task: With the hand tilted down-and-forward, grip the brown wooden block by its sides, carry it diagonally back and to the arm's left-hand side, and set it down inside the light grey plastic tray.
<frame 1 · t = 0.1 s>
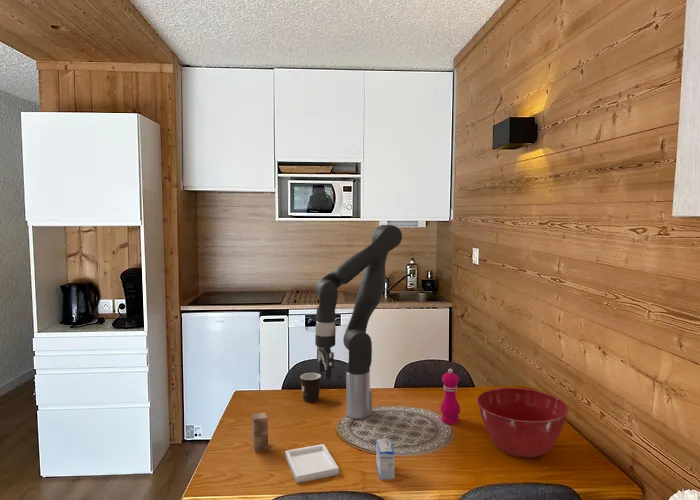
hand: (324, 375, 181), 17 cm above the table, tool pointing down, fingers open, 8 cm apart
medicine box: (385, 473, 145), on the table
mixing bowl: (520, 448, 159), on the table
tray: (311, 465, 150), on the table
coffee mug: (311, 398, 204), on the table
brown wooden block: (260, 447, 161), on the table
pepper mill: (450, 421, 180), on the table
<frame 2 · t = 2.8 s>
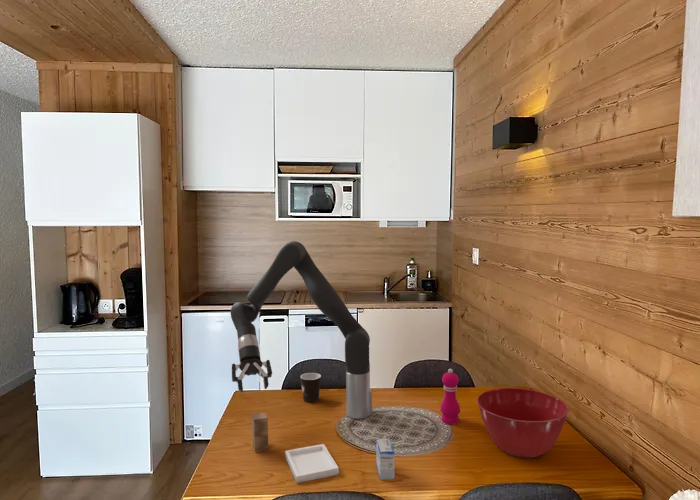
hand: (254, 389, 171), 16 cm above the table, tool tilted 45°, fingers open, 8 cm apart
nothing on the table moved.
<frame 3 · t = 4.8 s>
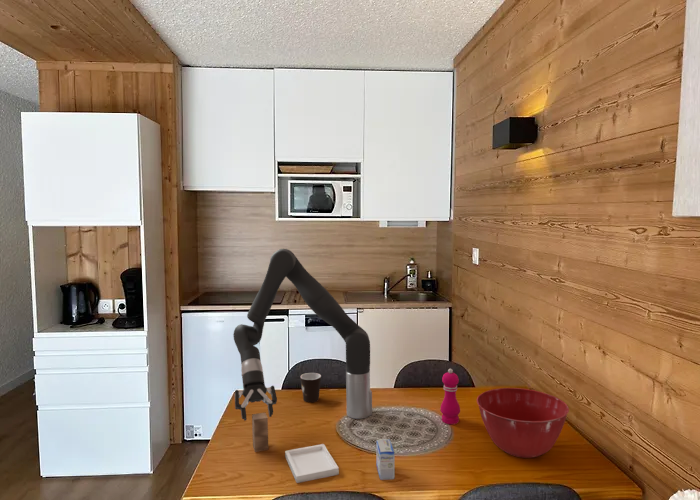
hand: (258, 417, 163), 9 cm above the table, tool tilted 45°, fingers open, 8 cm apart
nothing on the table moved.
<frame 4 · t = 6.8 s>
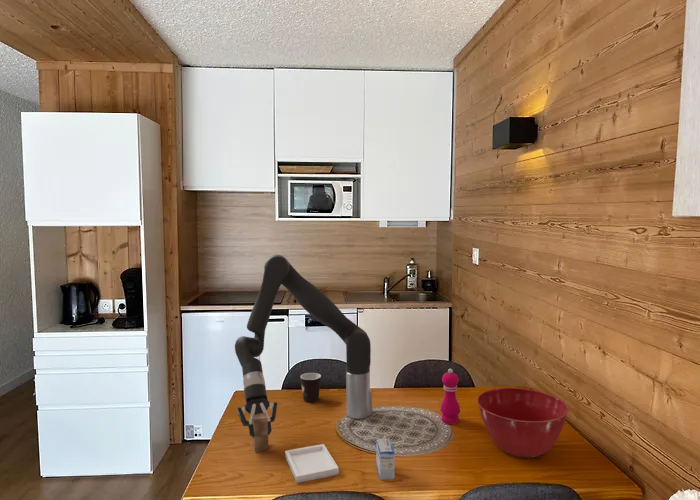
hand: (261, 435, 159), 5 cm above the table, tool tilted 45°, fingers closed on brown wooden block, 4 cm apart
brown wooden block: (260, 447, 161), on the table, touching gripper
everything else where it was.
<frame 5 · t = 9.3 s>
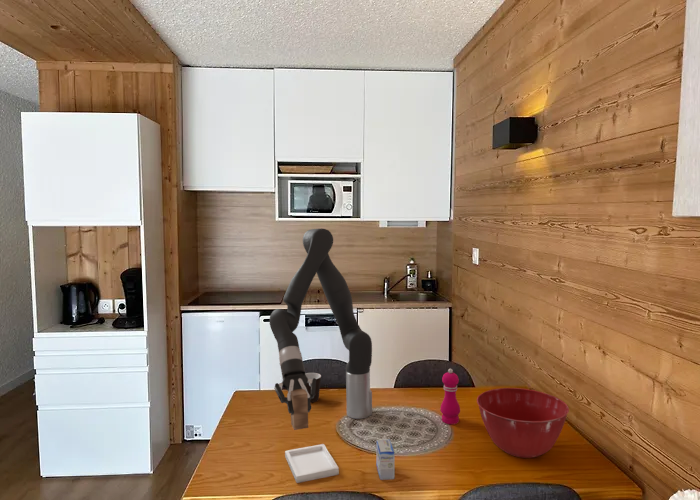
hand: (300, 412, 149), 17 cm above the table, tool tilted 45°, fingers closed on brown wooden block, 4 cm apart
brown wooden block: (299, 425, 151), point 12 cm above the table, touching gripper
everything else where it was.
when the fingers open (7 cm above the table, at t = 12.0 s): brown wooden block drops 1 cm, resting on tray.
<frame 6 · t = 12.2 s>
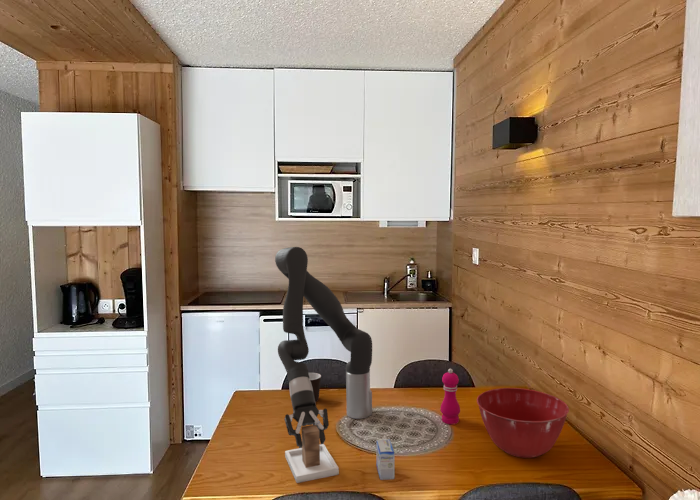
hand: (311, 445, 148), 7 cm above the table, tool tilted 45°, fingers open, 6 cm apart
brown wooden block: (311, 462, 150), point 1 cm above the table, touching tray
everything else where it was.
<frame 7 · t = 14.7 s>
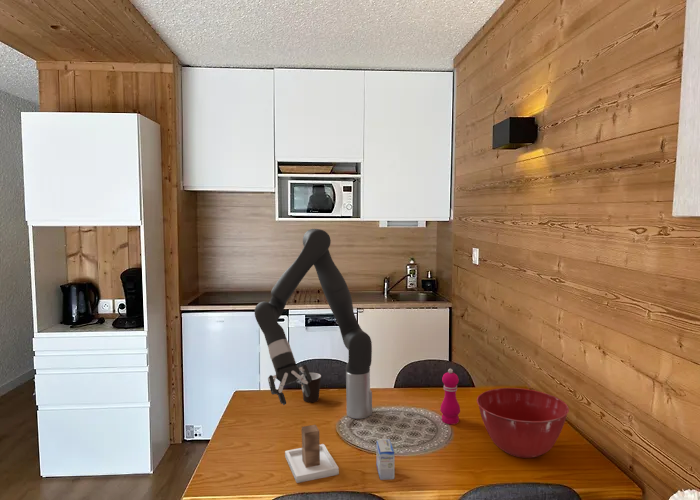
hand: (296, 400, 161), 16 cm above the table, tool tilted 35°, fingers open, 8 cm apart
nothing on the table moved.
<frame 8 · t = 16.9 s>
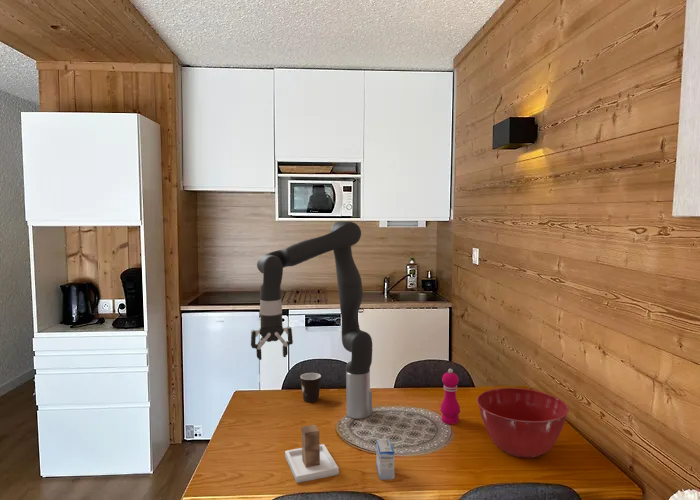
hand: (272, 357, 168), 28 cm above the table, tool pointing down, fingers open, 8 cm apart
nothing on the table moved.
at the end: brown wooden block inside the target area on the tray (0.0 cm from its centre), point 0.8 cm above the tray's base; brown wooden block tilted 0°; the gripper is holding nothing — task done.
